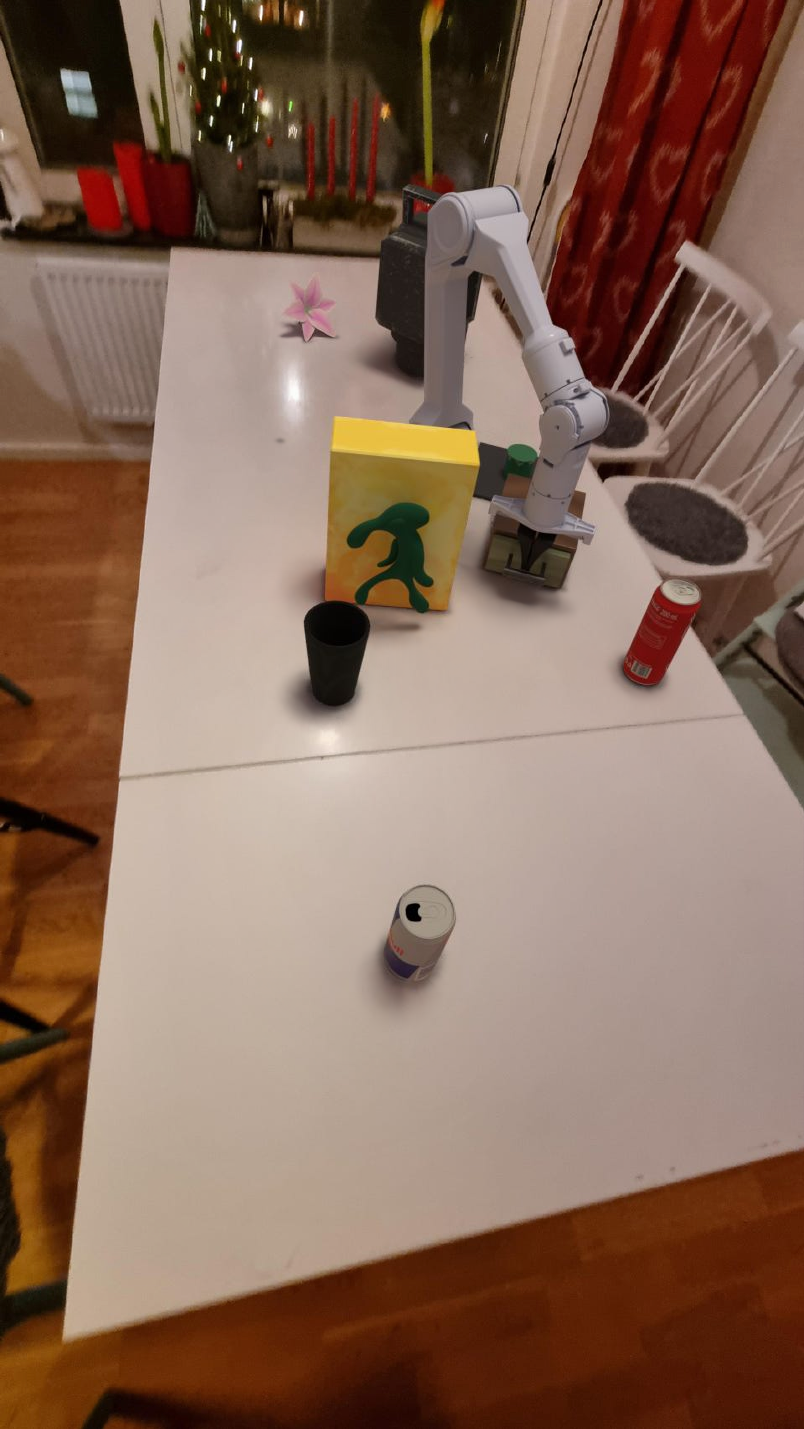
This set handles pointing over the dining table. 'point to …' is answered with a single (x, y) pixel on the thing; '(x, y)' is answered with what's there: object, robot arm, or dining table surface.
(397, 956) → the energy drink
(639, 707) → the dining table surface
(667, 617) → the beverage can
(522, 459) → the green cylinder
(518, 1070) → the dining table surface
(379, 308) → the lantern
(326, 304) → the lily
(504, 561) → the drawer
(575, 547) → the cabinet
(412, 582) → the mottled yellow carton
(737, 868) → the dining table surface
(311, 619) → the cup
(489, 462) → the mat
